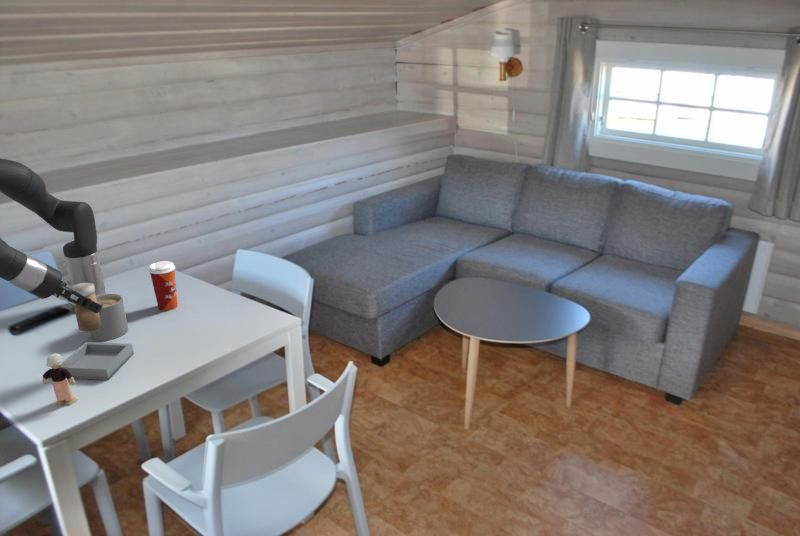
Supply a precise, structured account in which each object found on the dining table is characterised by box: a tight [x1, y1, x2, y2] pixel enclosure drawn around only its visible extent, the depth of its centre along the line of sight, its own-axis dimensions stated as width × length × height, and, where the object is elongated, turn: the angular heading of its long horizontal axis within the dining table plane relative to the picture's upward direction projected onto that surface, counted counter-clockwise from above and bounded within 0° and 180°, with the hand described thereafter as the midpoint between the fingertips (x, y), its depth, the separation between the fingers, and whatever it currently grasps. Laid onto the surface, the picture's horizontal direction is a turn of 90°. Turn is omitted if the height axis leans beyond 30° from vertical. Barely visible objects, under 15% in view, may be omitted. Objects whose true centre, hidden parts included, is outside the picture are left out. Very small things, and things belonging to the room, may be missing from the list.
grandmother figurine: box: [41, 352, 79, 406], centre depth 148 cm, size 8×4×13 cm, turn 98°
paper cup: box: [148, 260, 178, 312], centre depth 196 cm, size 8×8×14 cm
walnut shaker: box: [72, 283, 101, 333], centre depth 160 cm, size 5×5×11 cm
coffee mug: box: [89, 293, 129, 342], centre depth 183 cm, size 13×10×10 cm
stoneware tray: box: [61, 341, 135, 381], centre depth 166 cm, size 13×13×3 cm
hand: (93, 306), depth 161 cm, fingers closed on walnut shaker, 5 cm apart
